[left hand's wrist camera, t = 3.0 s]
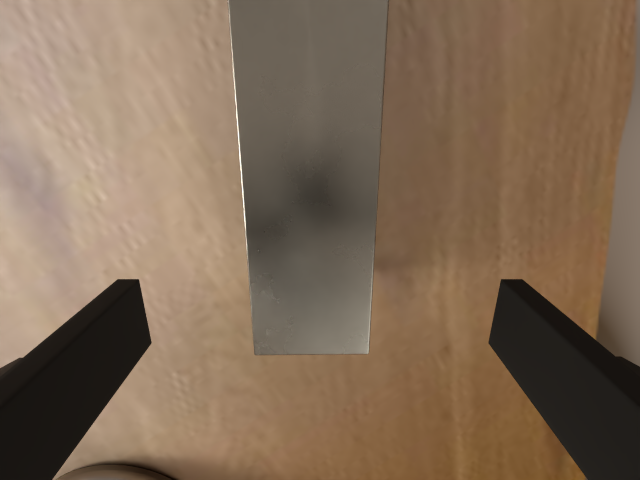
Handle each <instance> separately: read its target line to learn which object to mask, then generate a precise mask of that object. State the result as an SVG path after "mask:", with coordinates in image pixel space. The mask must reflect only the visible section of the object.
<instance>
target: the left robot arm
mask: <svg viewBox="0 0 640 480" xmlns="http://www.w3.org/2000/svg"><path fill="white" fill-rule="evenodd" d="M150 344H151V338H150V333H149V328H148V323H147V318H146V313H145V308H144V303H143V298H142V293H141V288H140V283H139V279H118V280H116V281H115V282H114V283H113V284H112V285H110V286H109V287H108V288H107V289H105V290H104V291H103V292H102V293H101V294H99V295H98V296H97V297H96V298H95V299H93V300H92V301H91V302H90V303H89V304H87V305H86V306H85V307H84V308H83V309H81V310H80V311H79V312H78V313H77V314H75V315H74V316H73V317H72V318H70V319H69V320H68V321H67V322H66V323H64V324H63V325H62V326H61V327H60V328H58V329H57V330H56V331H55V332H54V333H52V334H51V335H50V336H49V337H48V338H46V339H45V340H44V341H43V342H42V343H40V344H39V345H38V346H37V347H35V348H34V349H33V350H32V351H31V352H29V353H28V354H27V355H26V356H25V357H23V358H18V359H16V360H15V361H13V362H11V363H9V364H7V365H5V366H4V367H2V368H0V480H52V479H53V478H54V476H55V475H56V473H57V472H58V471H59V469H60V468H61V467H62V465H63V464H64V463H65V461H66V460H67V458H68V457H69V456H70V454H71V453H72V452H73V450H74V449H75V447H76V446H77V445H78V443H79V442H80V441H81V439H82V438H83V436H84V435H85V434H86V432H87V431H88V430H89V428H90V427H91V425H92V424H93V423H94V421H95V420H96V419H97V417H98V416H99V414H100V413H101V412H102V410H103V409H104V408H105V406H106V405H107V403H108V402H109V401H110V399H111V398H112V397H113V395H114V394H115V393H116V391H117V390H118V388H119V387H120V386H121V384H122V383H123V382H124V380H125V379H126V377H127V376H128V375H129V373H130V372H131V371H132V369H133V368H134V366H135V365H136V364H137V362H138V361H139V360H140V358H141V357H142V355H143V354H144V353H145V351H146V350H147V349H148V347H149V346H150ZM489 344H490V346H491V347H492V349H493V350H494V351H495V353H496V354H497V355H498V357H499V358H500V360H501V361H502V362H503V364H504V365H505V366H506V368H507V369H508V371H509V372H510V373H511V375H512V376H513V377H514V379H515V380H516V382H517V383H518V384H519V386H520V387H521V388H522V390H523V391H524V393H525V394H526V395H527V397H528V398H529V399H530V401H531V402H532V403H533V405H534V406H535V408H536V409H537V410H538V412H539V413H540V414H541V416H542V417H543V419H544V420H545V421H546V423H547V424H548V425H549V427H550V428H551V430H552V431H553V432H554V434H555V435H556V436H557V438H558V439H559V441H560V442H561V443H562V445H563V446H564V447H565V449H566V450H567V452H568V453H569V454H570V456H571V457H572V458H573V460H574V461H575V463H576V464H577V465H578V467H579V468H580V469H581V471H582V472H583V473H584V475H585V476H586V478H587V479H588V480H640V367H639V366H637V365H635V364H633V363H632V362H630V361H628V360H626V359H624V358H623V357H615V356H614V355H613V354H612V353H611V352H609V351H608V350H607V349H606V348H605V347H603V346H602V345H601V344H600V343H598V342H597V341H596V340H595V339H594V338H592V337H591V336H590V335H589V334H588V333H586V332H585V331H584V330H583V329H582V328H580V327H579V326H578V325H577V324H576V323H574V322H573V321H572V320H571V319H570V318H568V317H567V316H566V315H565V314H563V313H562V312H561V311H560V310H559V309H557V308H556V307H555V306H554V305H553V304H551V303H550V302H549V301H548V300H547V299H545V298H544V297H543V296H542V295H541V294H539V293H538V292H537V291H536V290H535V289H533V288H532V287H531V286H530V285H528V284H527V283H526V282H525V281H524V280H522V279H501V283H500V288H499V293H498V298H497V303H496V308H495V313H494V318H493V323H492V328H491V333H490V338H489ZM56 480H172V479H170V478H168V477H166V476H163V475H161V474H158V473H156V472H153V471H150V470H146V469H142V468H138V467H132V466H125V465H96V466H89V467H84V468H80V469H77V470H74V471H71V472H69V473H67V474H65V475H63V476H61V477H59V478H58V479H56Z"/></svg>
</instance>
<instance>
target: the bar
mask: <svg viewBox="0 0 640 480" xmlns="http://www.w3.org/2000/svg"><path fill="white" fill-rule="evenodd" d="M388 8H389V0H228V13H229V26H230V39H231V52H232V66H233V79H234V92H235V105H236V118H237V132H238V145H239V158H240V171H241V184H242V197H243V211H244V224H245V237H246V250H247V263H248V277H249V290H250V303H251V316H252V329H253V342H254V354H255V355H325V354H369V344H370V326H371V309H372V291H373V273H374V255H375V238H376V220H377V202H378V185H379V167H380V149H381V132H382V114H383V96H384V78H385V61H386V43H387V25H388Z"/></svg>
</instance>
